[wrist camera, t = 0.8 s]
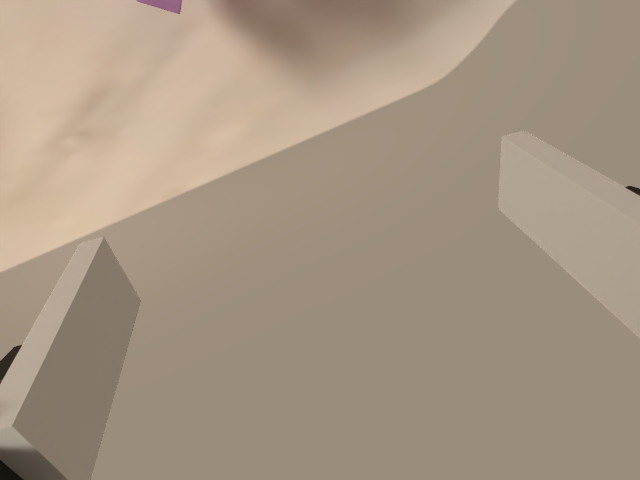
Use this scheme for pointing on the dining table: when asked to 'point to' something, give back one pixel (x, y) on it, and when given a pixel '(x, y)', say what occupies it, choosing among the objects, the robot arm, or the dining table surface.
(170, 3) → the pink lidded pot
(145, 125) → the dining table surface
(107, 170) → the dining table surface
